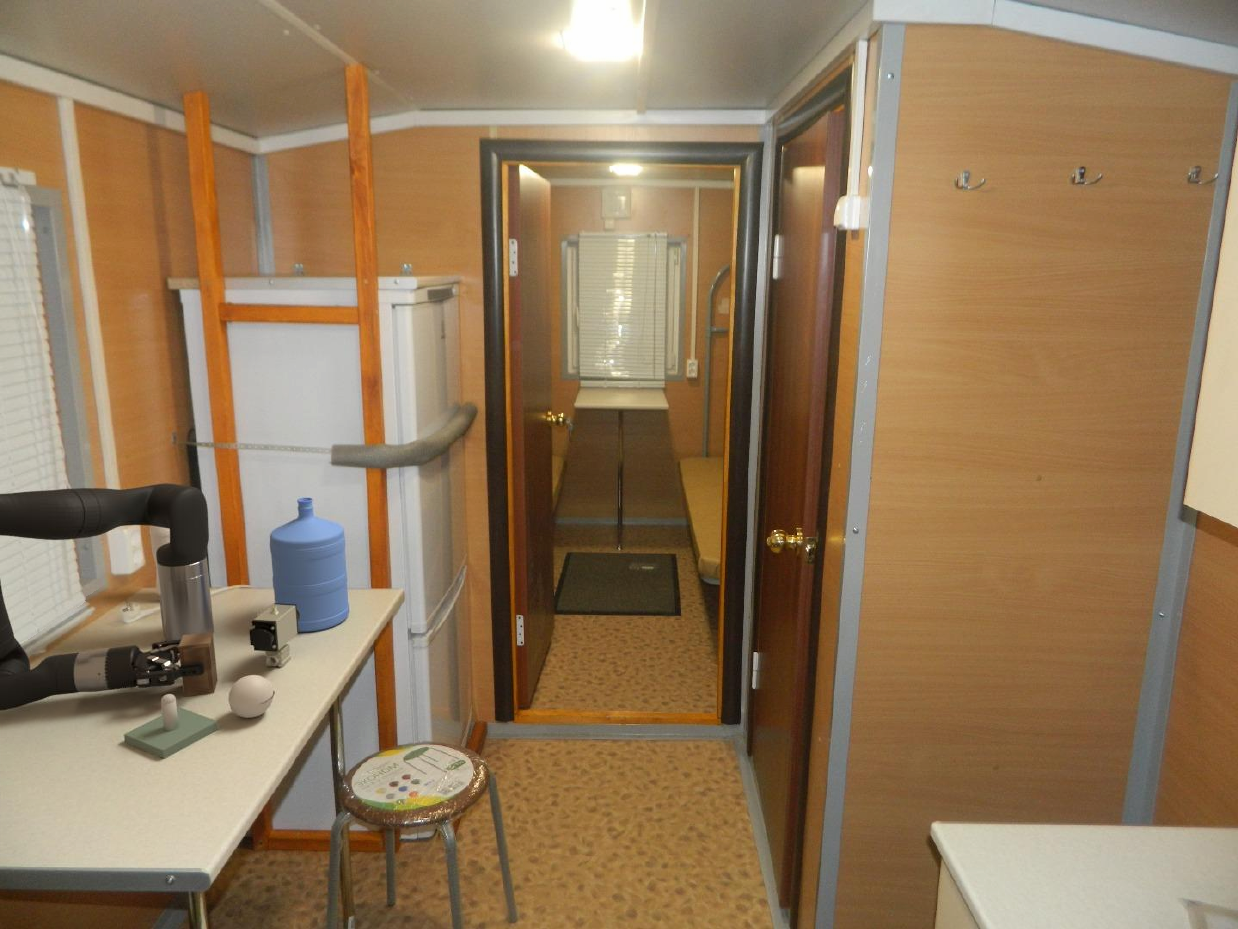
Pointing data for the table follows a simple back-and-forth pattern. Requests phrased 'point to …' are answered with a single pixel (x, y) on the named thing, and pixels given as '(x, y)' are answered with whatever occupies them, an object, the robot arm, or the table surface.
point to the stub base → (170, 730)
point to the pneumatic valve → (275, 632)
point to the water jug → (311, 568)
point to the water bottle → (158, 539)
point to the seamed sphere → (251, 696)
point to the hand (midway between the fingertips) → (207, 657)
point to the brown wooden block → (199, 651)
